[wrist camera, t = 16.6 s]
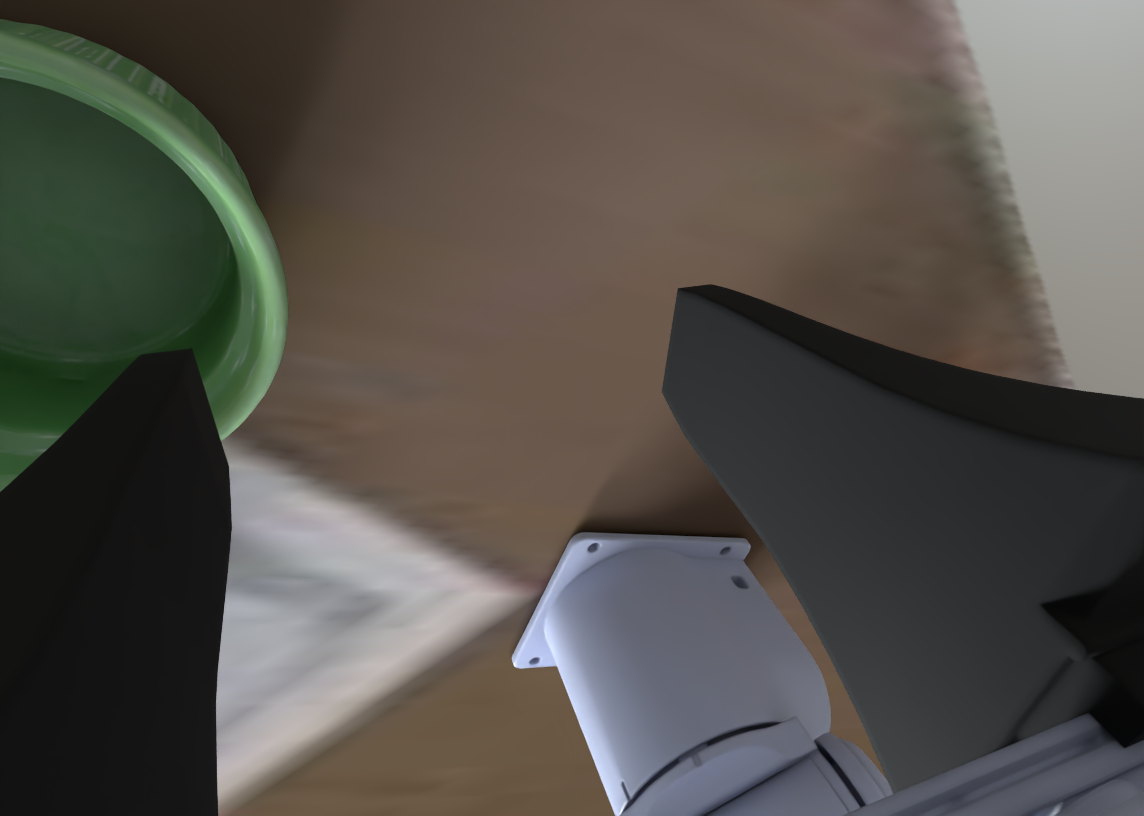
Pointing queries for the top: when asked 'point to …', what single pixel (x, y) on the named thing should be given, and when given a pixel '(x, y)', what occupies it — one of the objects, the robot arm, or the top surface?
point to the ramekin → (120, 242)
